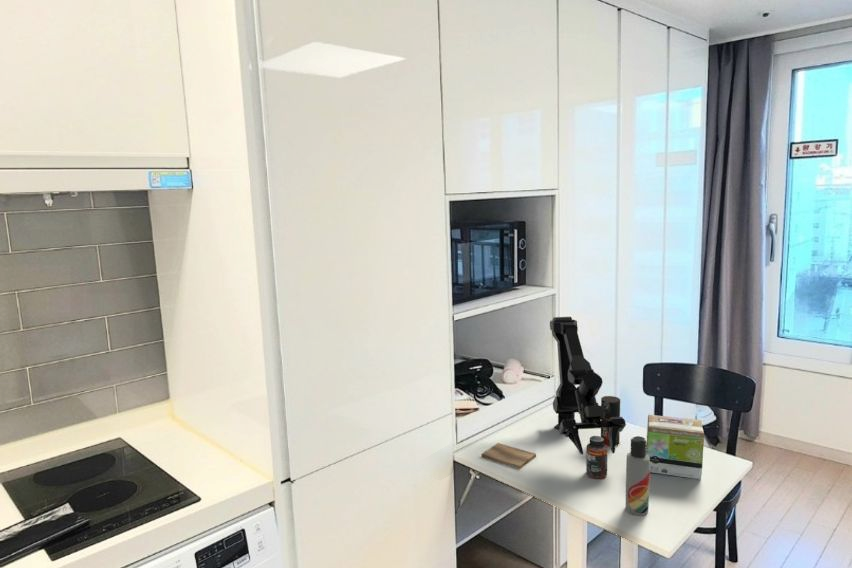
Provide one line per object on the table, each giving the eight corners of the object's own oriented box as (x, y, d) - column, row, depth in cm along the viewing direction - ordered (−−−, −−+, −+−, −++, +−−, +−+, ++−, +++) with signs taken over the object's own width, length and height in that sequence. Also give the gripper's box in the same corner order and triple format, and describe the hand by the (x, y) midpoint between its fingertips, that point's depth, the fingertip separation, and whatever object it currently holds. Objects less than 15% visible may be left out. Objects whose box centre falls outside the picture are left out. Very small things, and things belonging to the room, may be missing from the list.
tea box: (646, 473, 171) (647, 426, 168) (645, 458, 180) (647, 413, 178) (702, 480, 166) (704, 431, 163) (699, 464, 175) (701, 418, 173)
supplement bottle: (604, 469, 174) (605, 434, 172) (609, 479, 168) (609, 442, 166) (584, 469, 174) (584, 434, 173) (588, 479, 169) (588, 442, 167)
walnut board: (498, 445, 192) (498, 442, 192) (535, 456, 184) (535, 453, 184) (481, 457, 185) (481, 454, 185) (520, 469, 176) (520, 466, 176)
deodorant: (621, 440, 193) (622, 397, 190) (616, 447, 188) (617, 403, 185) (603, 437, 196) (604, 394, 194) (598, 444, 191) (599, 400, 189)
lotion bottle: (645, 518, 148) (648, 444, 145) (623, 512, 151) (624, 440, 148) (650, 507, 153) (652, 436, 150) (628, 502, 156) (629, 431, 153)
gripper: (561, 393, 172) (571, 445, 162) (624, 391, 172) (637, 442, 163) (555, 409, 181) (564, 458, 171) (614, 406, 181) (626, 455, 172)
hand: (597, 453), depth 169 cm, fingers open, 9 cm apart
